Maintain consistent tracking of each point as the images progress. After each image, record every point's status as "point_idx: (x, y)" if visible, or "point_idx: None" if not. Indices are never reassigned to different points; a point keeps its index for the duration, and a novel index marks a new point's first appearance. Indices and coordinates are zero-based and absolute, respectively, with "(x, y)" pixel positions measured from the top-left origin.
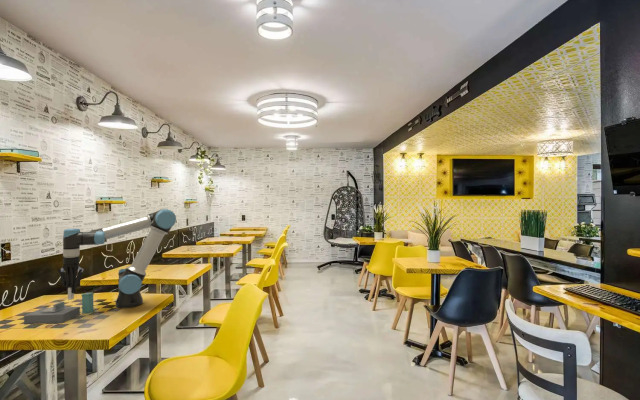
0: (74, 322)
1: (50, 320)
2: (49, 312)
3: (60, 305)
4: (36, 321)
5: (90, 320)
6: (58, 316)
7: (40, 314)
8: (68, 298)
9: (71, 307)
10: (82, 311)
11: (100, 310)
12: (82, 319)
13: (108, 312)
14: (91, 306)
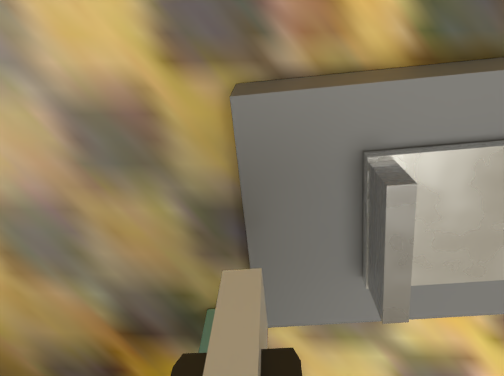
0: (149, 106)
1: (354, 76)
2: None
3: (376, 251)
4: (489, 61)
5: (53, 156)
6: (277, 88)
7: (496, 94)
8: (252, 280)
9: (321, 308)
10: None
11: None
12: (145, 180)
13: (79, 327)
14: None
